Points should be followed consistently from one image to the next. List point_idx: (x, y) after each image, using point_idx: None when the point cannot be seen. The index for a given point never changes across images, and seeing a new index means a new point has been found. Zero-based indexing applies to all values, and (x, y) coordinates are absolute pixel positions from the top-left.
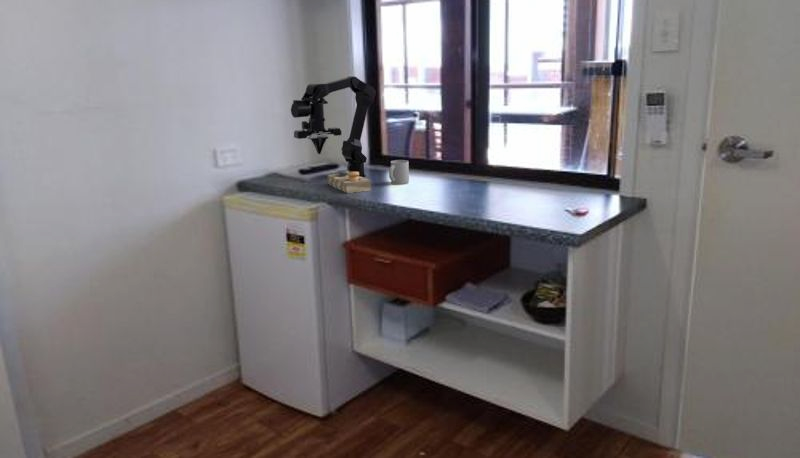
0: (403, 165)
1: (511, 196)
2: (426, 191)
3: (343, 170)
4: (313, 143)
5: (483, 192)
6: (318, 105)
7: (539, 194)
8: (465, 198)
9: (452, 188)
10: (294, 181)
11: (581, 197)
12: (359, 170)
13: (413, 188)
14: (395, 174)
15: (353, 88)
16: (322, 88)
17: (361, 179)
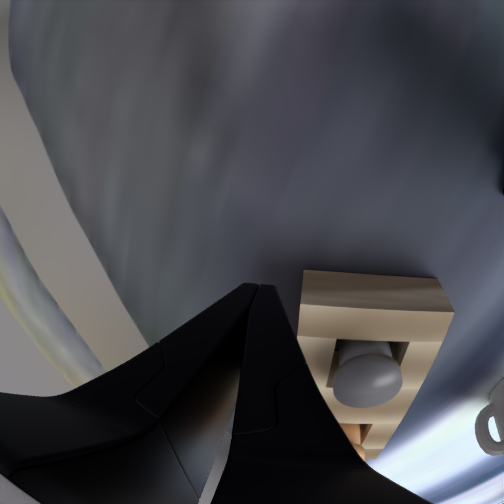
0: None
1: (477, 494)
2: (450, 464)
3: (378, 378)
4: (111, 378)
5: (487, 479)
6: None
7: (501, 489)
8: (434, 496)
9: (498, 456)
10: (157, 53)
11: (501, 498)
12: None
13: (465, 442)
14: (497, 426)
15: None
16: None
17: (365, 443)
